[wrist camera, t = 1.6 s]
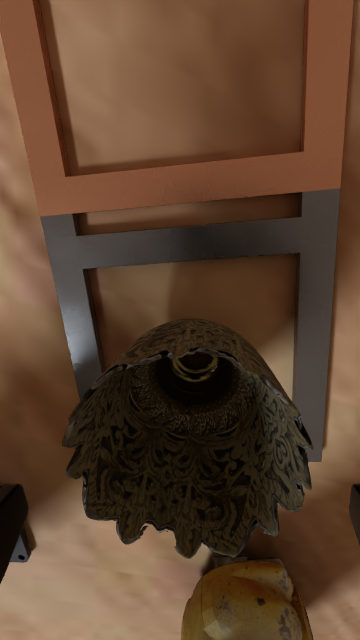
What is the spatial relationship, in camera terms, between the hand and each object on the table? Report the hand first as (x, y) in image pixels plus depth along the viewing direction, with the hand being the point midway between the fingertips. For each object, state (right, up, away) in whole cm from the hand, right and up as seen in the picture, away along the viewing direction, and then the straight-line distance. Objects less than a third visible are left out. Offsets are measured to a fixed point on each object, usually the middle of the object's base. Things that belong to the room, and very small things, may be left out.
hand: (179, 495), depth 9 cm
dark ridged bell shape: (+1, +3, +8) cm, 9 cm away
